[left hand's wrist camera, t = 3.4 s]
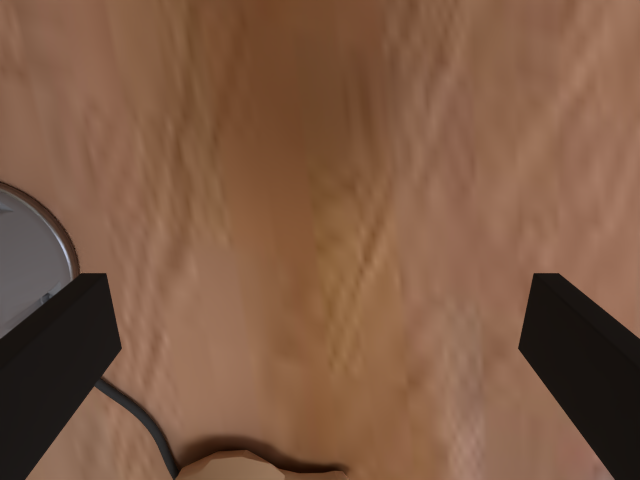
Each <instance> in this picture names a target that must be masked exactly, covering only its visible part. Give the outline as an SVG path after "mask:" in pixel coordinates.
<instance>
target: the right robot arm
mask: <svg viewBox="0 0 640 480" xmlns="http://www.w3.org/2000/svg"><path fill="white" fill-rule="evenodd" d="M77 276H79V269H78V262H77V258H76V254H75V251H74V249H73V246H72V244H71V242H70V240H69V238H68V236H67V234H66V233H65V231H64V230H63V228H62V227H61V225H60V224H59V223H58V222H57V221H56V219H55V218H54V217H53V216H52V215H51V214H50V213H49V212H48V211H47V210H46V209H45V208H44V207H43V206H41V205H40V204H39V203H38V202H36V201H35V200H34V199H32V198H31V197H29V196H28V195H26V194H24V193H23V192H21V191H19V190H17V189H15V188H13V187H10V186H8V185H6V184H3V183H0V339H1V338H2V337H3V336H5V335H6V334H7V333H8V332H9V331H11V330H12V329H13V328H14V327H16V326H17V325H18V324H19V323H21V322H22V321H23V320H24V319H26V318H27V317H28V316H29V315H30V314H32V313H33V312H34V311H35V310H37V309H38V308H39V307H40V306H42V305H43V304H44V303H45V302H47V301H48V300H49V299H50V298H51V297H53V296H54V295H55V294H56V293H58V292H59V291H60V290H61V289H63V288H64V287H65V286H66V285H68V284H69V283H70V282H71V281H72V280H74V279H75V278H76V277H77ZM95 387H96V388H97V389H99V390H100V391H102V392H103V393H104V394H106V395H107V396H109V397H110V398H112V399H113V400H115V401H116V402H117V403H119V404H120V405H122V406H123V407H124V408H126V409H127V410H128V411H130V412H131V413H132V414H133V415H134V416H136V417H137V418H138V419H139V420H140V421H141V422H142V423H143V425H144V426H145V427H146V428H147V429H148V431H149V432H150V433H151V435H152V436H153V438H154V440H155V442H156V443H157V445H158V448H159V450H160V452H161V455H162V457H163V460H164V462H165V464H166V466H167V469H168V471H169V472H170V474H171V476H172V478H173V480H175V479H176V477H177V476H178V475H179V473H180V472H179V470H178V469H177V467H176V465H175V463H174V460H173V458H172V456H171V453H170V451H169V448H168V446H167V443H166V441H165V439H164V437H163V435H162V433H161V432H160V430H159V428H158V427H157V426H156V424H155V423H154V422H153V420H152V419H151V418H150V417H149V416H148V415H147V414H146V413H145V412H144V411H143V410H142V409H141V408H140V407H139V406H138V405H136V404H135V403H134V402H133V401H131V400H130V399H129V398H127V397H126V396H124V395H123V394H121V393H120V392H119V391H117V390H116V389H114V388H113V387H111V386H110V385H109V384H107V383H106V382H105V381H103V380H102V379H101V378H100V379H99V380H98V381H97V383H96V384H95Z"/></svg>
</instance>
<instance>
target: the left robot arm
mask: <svg viewBox="0 0 640 480" xmlns="http://www.w3.org/2000/svg"><path fill="white" fill-rule="evenodd" d="M121 349H122V347H121V342H120V337H119V332H118V328H117V323H116V318H115V313H114V308H113V304H112V299H111V294H110V289H109V284H108V279H107V275H106V273H81V274H80V275H79V276H77V277H76V278H75V279H74V280H72V281H71V282H70V283H69V284H68V285H66V286H65V287H64V288H63V289H61V290H60V291H59V292H58V293H56V294H55V295H54V296H53V297H51V298H50V299H49V300H48V301H47V302H45V303H44V304H43V305H42V306H40V307H39V308H38V309H37V310H35V311H34V312H33V313H32V314H30V315H29V316H28V317H27V318H26V319H24V320H23V321H22V322H21V323H19V324H18V325H17V326H16V327H14V328H13V329H12V330H11V331H9V332H8V333H7V334H6V335H5V336H3V337H2V338H1V339H0V480H25V479H26V478H27V476H28V475H29V474H30V472H31V471H32V470H33V468H34V467H35V466H36V464H37V463H38V461H39V460H40V459H41V457H42V456H43V455H44V453H45V452H46V451H47V449H48V448H49V447H50V445H51V444H52V442H53V441H54V440H55V438H56V437H57V436H58V434H59V433H60V432H61V430H62V429H63V428H64V426H65V425H66V424H67V422H68V421H69V419H70V418H71V417H72V415H73V414H74V413H75V411H76V410H77V409H78V407H79V406H80V405H81V403H82V402H83V400H84V399H85V398H86V396H87V395H88V394H89V392H90V391H91V390H92V388H93V387H94V386H95V384H96V383H97V381H98V380H99V379H100V377H101V376H102V375H103V373H104V372H105V371H106V369H107V368H108V367H109V365H110V364H111V363H112V361H113V360H114V358H115V357H116V356H117V354H118V353H119V352H120V350H121ZM518 349H519V350H520V352H521V353H522V354H523V356H524V357H525V358H526V360H527V361H528V363H529V364H530V365H531V367H532V368H533V369H534V371H535V372H536V373H537V375H538V376H539V377H540V379H541V380H542V381H543V383H544V384H545V386H546V387H547V388H548V390H549V391H550V392H551V394H552V395H553V396H554V398H555V399H556V400H557V402H558V403H559V405H560V406H561V407H562V409H563V410H564V411H565V413H566V414H567V415H568V417H569V418H570V419H571V421H572V422H573V424H574V425H575V426H576V428H577V429H578V430H579V432H580V433H581V434H582V436H583V437H584V438H585V440H586V441H587V442H588V444H589V445H590V447H591V448H592V449H593V451H594V452H595V453H596V455H597V456H598V457H599V459H600V460H601V461H602V463H603V464H604V466H605V467H606V468H607V470H608V471H609V472H610V474H611V475H612V476H613V478H614V479H615V480H640V339H639V338H638V337H637V336H635V335H634V334H633V333H632V332H631V331H629V330H628V329H627V328H626V327H624V326H623V325H622V324H621V323H619V322H618V321H617V320H616V319H614V318H613V317H612V316H611V315H610V314H608V313H607V312H606V311H605V310H603V309H602V308H601V307H600V306H598V305H597V304H596V303H595V302H593V301H592V300H591V299H590V298H589V297H587V296H586V295H585V294H584V293H582V292H581V291H580V290H579V289H577V288H576V287H575V286H574V285H572V284H571V283H570V282H569V281H568V280H566V279H565V278H564V277H563V276H561V275H560V274H559V273H534V275H533V279H532V284H531V289H530V294H529V299H528V304H527V308H526V313H525V318H524V323H523V328H522V332H521V337H520V342H519V347H518Z"/></svg>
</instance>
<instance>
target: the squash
mask: <svg viewBox="0 0 640 480" xmlns="http://www.w3.org/2000/svg"><path fill="white" fill-rule="evenodd" d="M175 480H349V479H348V477H347V476H346V475H345V474H344V472H343V471H331V472H326V473H295V472H291V471H286V470H282V469H278V468H277V467H275V466H274V465H272V464H271V463H269V462H268V461H266V460H264V459H262V458H260V457H259V456H257V455H255V454H253V453H252V452H250V451H248V450H234V451H217V452H215V453H213V454H211V455H209V456H207V457H204V458H202V459H200V460H198V461H196V462H194V463H192V464H189V465H187V466H185V467H183V468H182V469H181V471H180V473H179V475H178V476H177V477H176V479H175Z"/></svg>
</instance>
